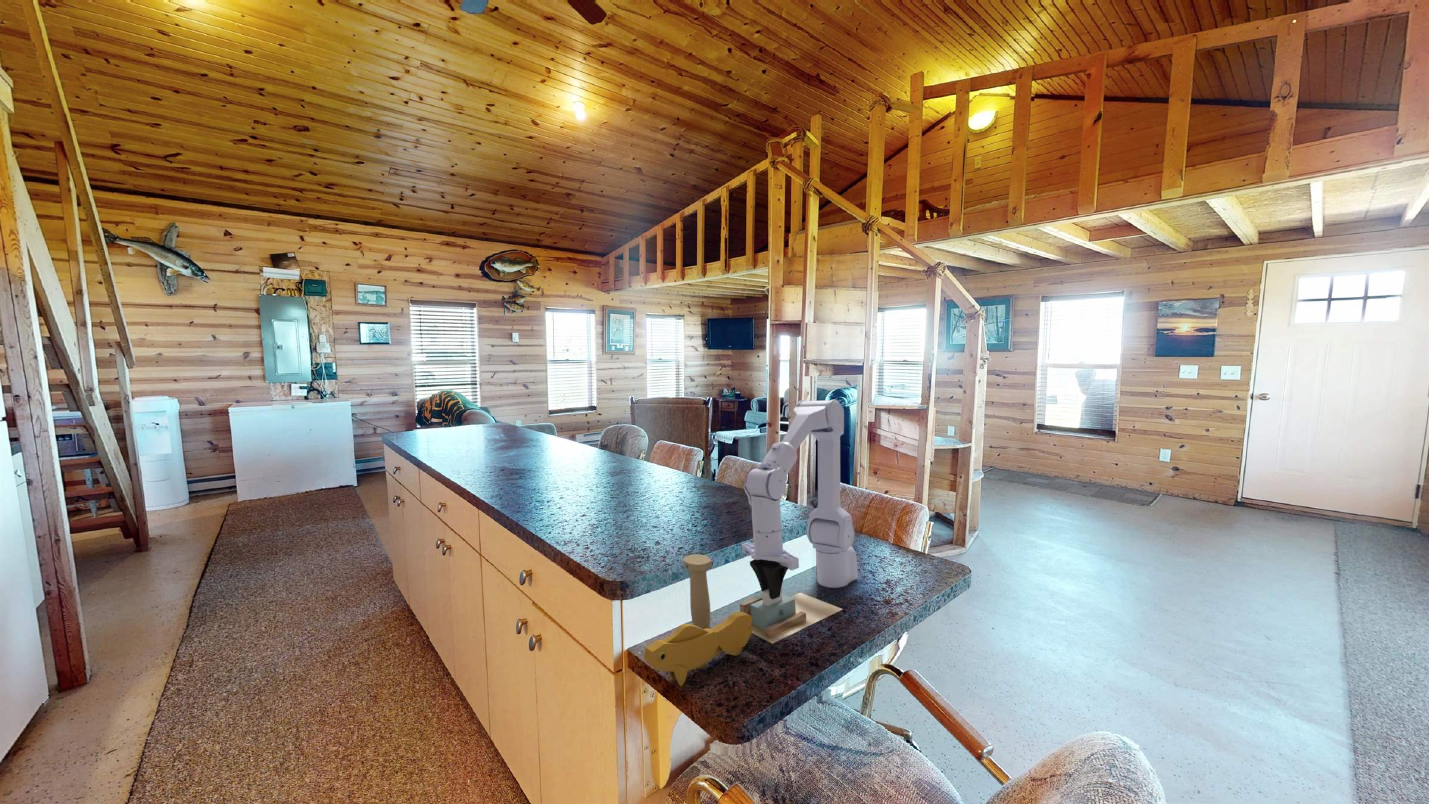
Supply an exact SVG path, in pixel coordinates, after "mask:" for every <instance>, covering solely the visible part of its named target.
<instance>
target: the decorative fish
mask: <svg viewBox="0 0 1429 804" xmlns="http://www.w3.org/2000/svg"><path fill="white" fill-rule="evenodd" d="M751 624H752V616H751V615H749V614H746V613H744V612H740V611H738V612H732V613H731V614H730V615H729V616H728V617H727V618H726V619H724V620H723V621H721V622H720V623H717V625H715V626H714V627H712V628H710V627H709V628H710V629H709V628H706V629H702V628H700V627H697V626H695V625H693V624H691V623H683V624H681V625H680V626H678V627H677V628H676V629H675V630H674V631H673V632H672V633H671V634H669V635H668V636H667V637H665V638H664V639H656V640H655V641H653V642H652V643H650V644H649V645H647V646H646V647H645V648H644V649H645V650H644V656H643V658H644V660H645V661H646V663H647V664H648V665H649V666H650V667H652V668H653V669H655V670H656V671H663V672H668V676H669V678H670V680H671V681H673V680H674V681H675V679H676V682H677V683H678V685H679V686H680V687H683V685H684V684H685V682H686V679H687V675H688V671H692V670H697V669H700V668H701V667H704V666H705V665H706V664H707V663H710V661H712V660H713V659H715V658H716V656H718V655H719V654H720V653H722V652H724V653H725V654H728V655H732V656H739V655H740V654H741V653H742V652H743V650H744V647H746V645H747V643H748V642H749V639H750V637H751V635H752V634H753V633H752V631H753V627H751Z"/></svg>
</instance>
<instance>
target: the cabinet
mask: <svg viewBox="0 0 1429 804" xmlns="http://www.w3.org/2000/svg"><path fill="white" fill-rule="evenodd" d="M761 595H762V600H761V601H758V602H756V603H753V604H751V605H750V608H751V616H752V625H754V626H756V627H758V628H760V629H762V630H764V631H765V628H766V627H768V626H771V625H773V624H775V623H777V622H779V621H782V620H784V619H786V618H788V617H790V616H792V615H795V614H796V609H795V599H794V598H791V596H790V595H785V594H784V593H783V589H782V587H781V592H780V597H778V598H775V599H770V595H769V590H768V589H767V590H764V591H762V590H761Z"/></svg>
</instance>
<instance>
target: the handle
mask: <svg viewBox="0 0 1429 804" xmlns="http://www.w3.org/2000/svg"><path fill="white" fill-rule="evenodd" d="M682 562H683V567H684V569H685V570H686V571H688V572H689V588H690V589H689V590H690V591H689V593H690V594H689V595H690V599H689V600H690V601H689V602H690V614H691V621H692V625H695V626H697V627H700V628H702V629H706V628H709V629H711V628H710V626H711V619H712V618H711V612H712V611H711V602H710V601H711V599H710V592H709V587H708V586H709V585H708V579H707V578H708V577H707V571H708V570H710V569H711V568H712V566H713V565H712V564H713V563H712V558H711V557H709V556H707V555H704V554H699V553H698V554H697V553H696V554H695V553H694V554H689V555H686V556H684V557H683V558H682Z"/></svg>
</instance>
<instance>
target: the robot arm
mask: <svg viewBox="0 0 1429 804" xmlns="http://www.w3.org/2000/svg"><path fill="white" fill-rule="evenodd" d="M792 416H793V417H792V418H793V420H792V422H791V424H790V426H789V427H788V429H787V432H786V433H785V434H784V437H783V439H782V440H781V441H780V442H779V441H778V442H775V443H773V444H772V445H771V447H770V448H769V451H768V452H767V453H766V455H765V457H764V458H763V459H762V461H761V462H760V464H759V465H758V467H757V468H753V469H751V470H750V471H749V472H747V474H746V476H745V479H744V484H743V490H744V492H745V494H746V495H747V499H748V504H749V506H750V507H751V519H752V537H753V542H750V541H748V542H745V543H742V544H741V553H742V554H744V555H747V554H748V555H751V556H750V558H751V559H752V560H750V561H749V566H750V567H751V568H752V570H753V572H754V574H755V576H756V578H757V581H758V583H759V586H760V589H761V592H762V591H764V590H767V589H768V590H769V595H770V599H775V598H778V597H780V592H781V588H782V586H783V584H784V583H783V582H784V579H785V576H786V573H787V572H788V570H790V571H794V570H797V569H799V568H800V564H799V562H800V561H799V557H797V556H794V555H792V554H791V553H790V552H789V551H787V550H786V549H784V547H783V545H784V543H783V531H782V529H783V528H782V514H781V497H782V496H783V495H784V493H785V491H786V483H787V480H788V477H787V476H788V474H789V473H790V472H791V470H792V467H793V466H794V465H795V463H796V461H797V459H798V454H797V450H798V448H800V446H801V445H802V444H803V442H804V441H805V440H806V438H807V437H808V436H809V435H812V436H813V437H814V438H815V439H816V440H817V507H816V508H815V509H813V510H811V512H809V514H808V524H807V527H806V537H807V540H808V542H809V543H810V544H812V549H815V558H816V560H815V561H816V577H817V579H816V580H817V583H818V585H820V586H823V587H826V588H834V589H836V588H842V587H846V586H848V585H849V584H850V583H851V582H853V581H856V580H858V579H859V576H858V558H857V553H856V551H855V548H853V544H854V540H855V529H854V526H853V517H852V515H851V514H850V513H849V512H847V510H845V509H843V507H842V506H841V436H842V435H844V433H845V432H844V431H845V430H844V429H845V410H844V407H843V405H841V403H840V401H838V399H829V400H798V402H797V403H796V405H795V407H794V408H793V410H792Z"/></svg>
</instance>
